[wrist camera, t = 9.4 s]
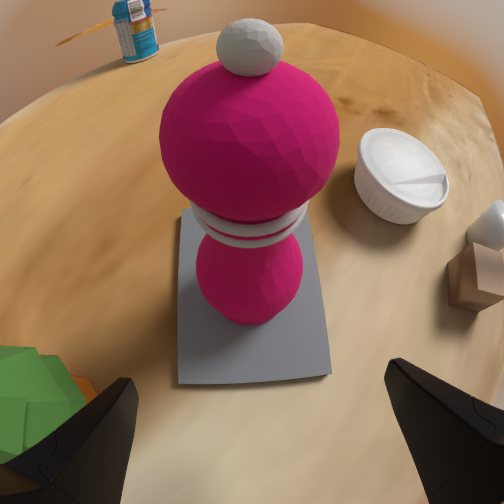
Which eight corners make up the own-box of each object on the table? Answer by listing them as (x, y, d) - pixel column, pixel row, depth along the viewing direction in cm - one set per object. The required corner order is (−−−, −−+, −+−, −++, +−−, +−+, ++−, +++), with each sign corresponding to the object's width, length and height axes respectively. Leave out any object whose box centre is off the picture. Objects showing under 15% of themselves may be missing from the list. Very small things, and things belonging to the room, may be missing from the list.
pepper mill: (245, 234, 25) (241, -8, 7) (310, 284, 23) (422, 47, 5) (187, 292, 23) (67, 55, 5) (253, 350, 21) (281, 142, 3)
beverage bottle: (117, 67, 45) (98, -9, 27) (132, 52, 49) (117, -17, 31) (152, 61, 45) (137, -21, 27) (164, 46, 48) (153, -26, 31)
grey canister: (493, 264, 25) (522, 242, 20) (469, 255, 26) (498, 230, 20) (488, 231, 27) (513, 207, 22) (463, 221, 28) (489, 194, 23)
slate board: (328, 374, 21) (331, 373, 20) (181, 383, 20) (178, 383, 20) (303, 208, 28) (305, 202, 27) (184, 214, 27) (182, 209, 27)
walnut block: (478, 311, 23) (507, 297, 18) (448, 305, 23) (478, 289, 19) (476, 271, 25) (501, 253, 20) (447, 263, 25) (472, 241, 21)
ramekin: (410, 253, 26) (436, 228, 21) (327, 191, 29) (339, 157, 24) (438, 195, 30) (457, 169, 25) (369, 145, 33) (382, 115, 28)
